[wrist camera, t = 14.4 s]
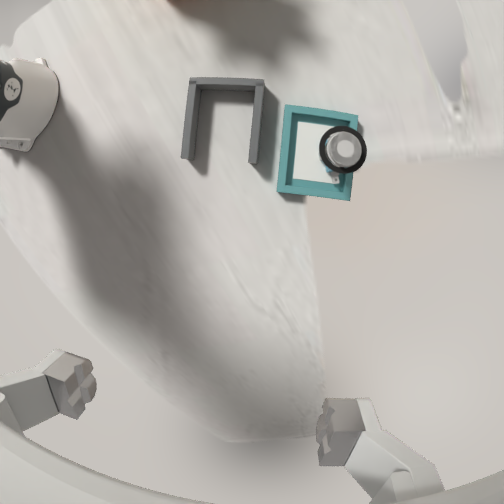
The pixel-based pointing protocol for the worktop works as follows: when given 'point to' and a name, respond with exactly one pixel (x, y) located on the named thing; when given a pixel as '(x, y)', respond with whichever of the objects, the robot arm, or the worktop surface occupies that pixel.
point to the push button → (342, 151)
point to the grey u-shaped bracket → (221, 84)
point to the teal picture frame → (310, 153)
